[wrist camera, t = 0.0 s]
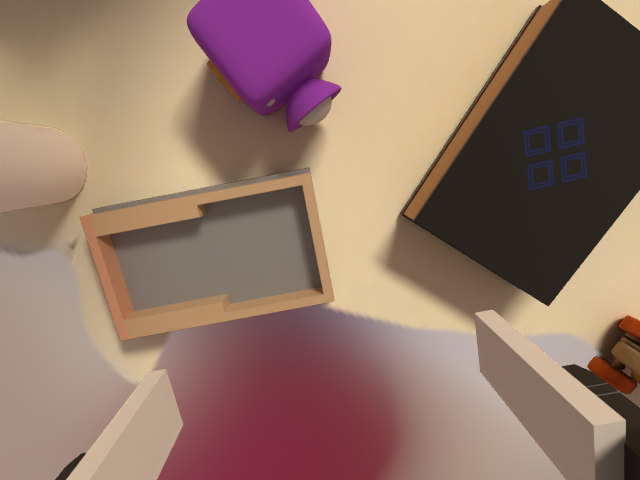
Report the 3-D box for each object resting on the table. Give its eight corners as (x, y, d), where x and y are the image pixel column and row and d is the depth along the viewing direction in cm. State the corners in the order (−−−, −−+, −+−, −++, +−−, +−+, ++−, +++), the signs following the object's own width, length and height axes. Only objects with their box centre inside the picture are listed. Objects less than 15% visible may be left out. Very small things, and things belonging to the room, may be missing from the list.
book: (653, 102, 41) (717, 91, 34) (514, 285, 45) (549, 307, 39) (531, 10, 39) (576, -20, 32) (398, 212, 43) (413, 221, 36)
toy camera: (298, 153, 41) (294, 150, 31) (198, 65, 39) (159, 34, 29) (363, 73, 39) (380, 45, 29) (262, -22, 37) (245, -87, 27)
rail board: (100, 207, 42) (78, 212, 38) (309, 167, 41) (309, 168, 37) (138, 328, 45) (122, 344, 41) (333, 292, 44) (335, 305, 40)
